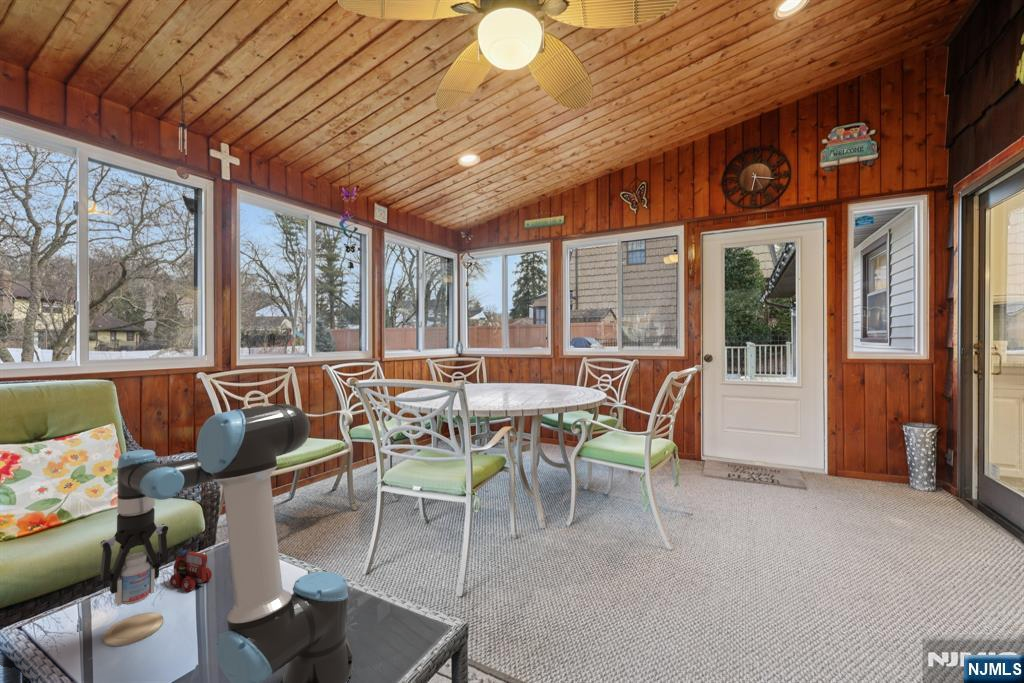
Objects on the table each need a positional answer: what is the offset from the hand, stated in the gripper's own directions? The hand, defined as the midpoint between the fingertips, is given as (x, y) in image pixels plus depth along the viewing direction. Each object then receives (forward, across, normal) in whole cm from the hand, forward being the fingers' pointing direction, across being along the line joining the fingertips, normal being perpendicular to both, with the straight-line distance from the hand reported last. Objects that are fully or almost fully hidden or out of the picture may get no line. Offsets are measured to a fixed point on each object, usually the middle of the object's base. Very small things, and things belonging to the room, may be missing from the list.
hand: (134, 597), depth 116 cm
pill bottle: (+1, 0, 0) cm, 1 cm away
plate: (+9, 0, 0) cm, 9 cm away
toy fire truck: (+9, -17, -13) cm, 23 cm away
